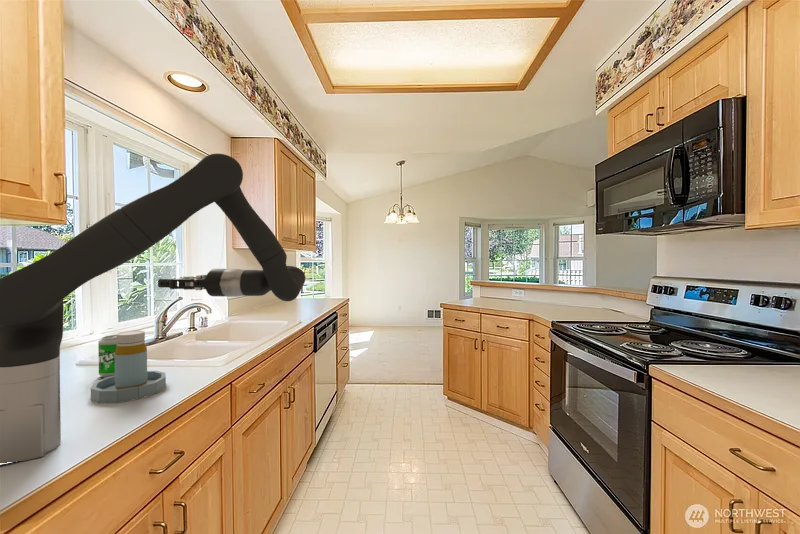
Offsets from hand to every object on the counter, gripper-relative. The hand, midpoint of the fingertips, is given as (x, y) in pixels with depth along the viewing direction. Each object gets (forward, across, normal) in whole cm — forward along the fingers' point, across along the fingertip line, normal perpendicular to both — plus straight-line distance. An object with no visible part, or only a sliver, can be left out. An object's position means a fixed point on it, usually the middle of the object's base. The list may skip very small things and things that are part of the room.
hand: (169, 282), depth 96 cm
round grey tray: (+11, 0, +30) cm, 32 cm away
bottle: (+11, 0, +29) cm, 31 cm away
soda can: (+26, -13, +30) cm, 42 cm away
